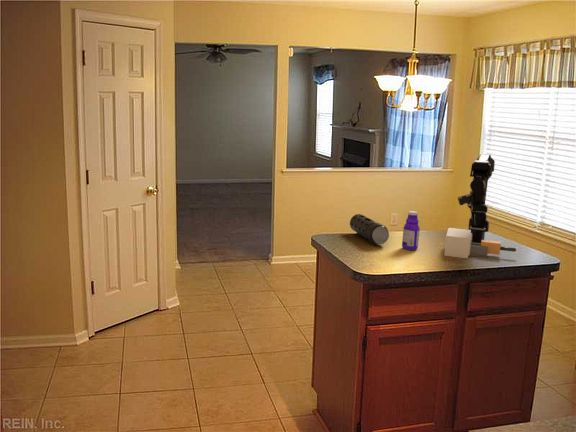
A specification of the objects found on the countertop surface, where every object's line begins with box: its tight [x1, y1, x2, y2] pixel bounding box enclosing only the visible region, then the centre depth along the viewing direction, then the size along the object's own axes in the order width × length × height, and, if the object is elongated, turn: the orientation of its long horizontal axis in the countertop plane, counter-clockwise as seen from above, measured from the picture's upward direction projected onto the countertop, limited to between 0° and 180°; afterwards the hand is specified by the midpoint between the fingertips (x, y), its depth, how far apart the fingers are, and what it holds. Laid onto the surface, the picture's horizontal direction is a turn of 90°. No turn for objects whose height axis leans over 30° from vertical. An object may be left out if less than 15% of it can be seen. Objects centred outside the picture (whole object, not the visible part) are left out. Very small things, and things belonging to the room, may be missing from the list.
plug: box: [481, 239, 517, 256], centre depth 260 cm, size 15×4×5 cm, turn 72°
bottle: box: [401, 210, 420, 251], centre depth 267 cm, size 7×6×17 cm
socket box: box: [444, 227, 489, 259], centre depth 264 cm, size 18×18×9 cm
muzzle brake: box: [349, 213, 390, 245], centre depth 282 cm, size 10×28×10 cm, turn 15°
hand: (474, 223), depth 263 cm, fingers open, 9 cm apart
